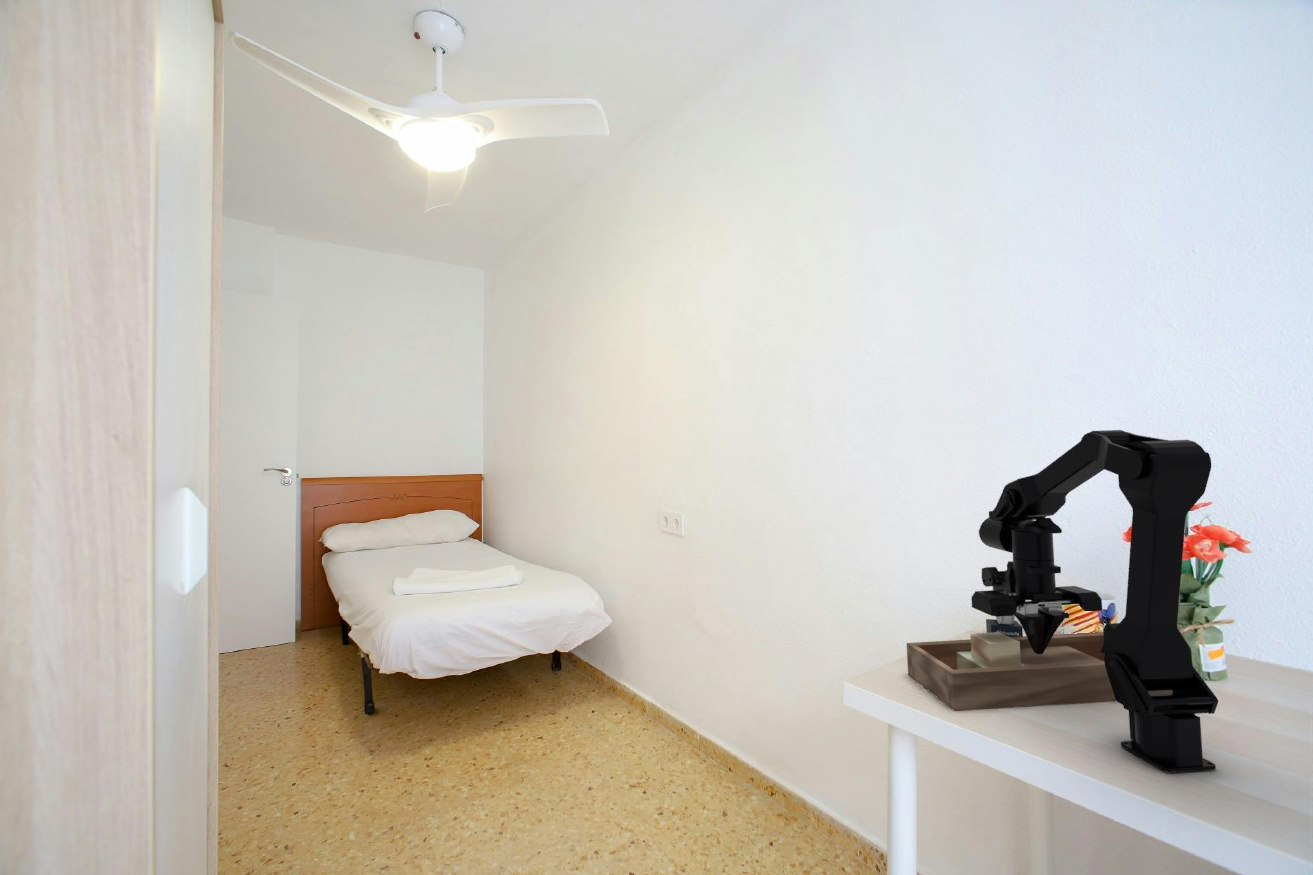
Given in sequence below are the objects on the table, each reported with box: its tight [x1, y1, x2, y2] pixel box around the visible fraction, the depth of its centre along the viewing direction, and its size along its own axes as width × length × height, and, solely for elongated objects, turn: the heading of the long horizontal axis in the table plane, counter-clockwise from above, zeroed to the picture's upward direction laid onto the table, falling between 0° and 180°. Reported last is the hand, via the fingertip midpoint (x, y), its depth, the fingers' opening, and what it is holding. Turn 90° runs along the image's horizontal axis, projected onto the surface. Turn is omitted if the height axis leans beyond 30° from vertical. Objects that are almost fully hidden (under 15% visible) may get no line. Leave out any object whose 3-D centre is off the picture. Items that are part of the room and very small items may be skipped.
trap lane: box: [906, 631, 1173, 712], centre depth 93 cm, size 14×36×6 cm, turn 93°
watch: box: [985, 588, 1024, 637], centre depth 116 cm, size 6×8×11 cm
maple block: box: [970, 632, 1021, 668], centre depth 93 cm, size 5×5×4 cm
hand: (1038, 653), depth 93 cm, fingers closed
